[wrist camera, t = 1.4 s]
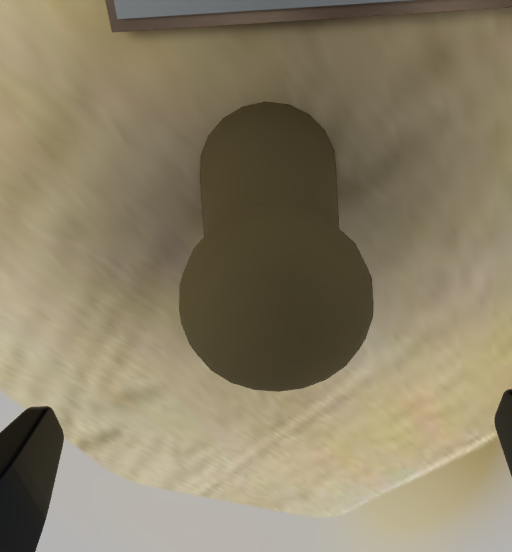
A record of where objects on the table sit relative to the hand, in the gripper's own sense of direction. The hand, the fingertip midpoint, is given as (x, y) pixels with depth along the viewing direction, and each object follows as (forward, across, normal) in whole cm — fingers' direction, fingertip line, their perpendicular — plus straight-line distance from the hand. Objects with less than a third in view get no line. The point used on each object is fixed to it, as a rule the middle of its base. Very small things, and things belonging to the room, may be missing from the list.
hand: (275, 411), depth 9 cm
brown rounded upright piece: (+13, 0, 0) cm, 13 cm away
